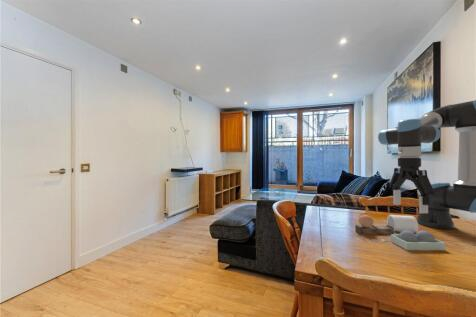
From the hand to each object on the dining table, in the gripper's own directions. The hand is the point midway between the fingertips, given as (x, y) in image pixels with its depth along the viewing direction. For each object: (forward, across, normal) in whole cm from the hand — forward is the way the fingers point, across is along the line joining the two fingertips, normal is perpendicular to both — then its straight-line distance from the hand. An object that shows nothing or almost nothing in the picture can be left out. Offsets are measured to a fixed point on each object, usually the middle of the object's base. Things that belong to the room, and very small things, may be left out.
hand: (409, 208), depth 87 cm
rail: (+16, -15, -5) cm, 22 cm away
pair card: (+16, -5, -9) cm, 19 cm away
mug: (+17, -20, +11) cm, 28 cm away
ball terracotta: (+13, -15, -9) cm, 22 cm away
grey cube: (+15, 0, -1) cm, 15 cm away
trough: (+16, 0, +3) cm, 16 cm away
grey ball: (+15, 0, +6) cm, 17 cm away
